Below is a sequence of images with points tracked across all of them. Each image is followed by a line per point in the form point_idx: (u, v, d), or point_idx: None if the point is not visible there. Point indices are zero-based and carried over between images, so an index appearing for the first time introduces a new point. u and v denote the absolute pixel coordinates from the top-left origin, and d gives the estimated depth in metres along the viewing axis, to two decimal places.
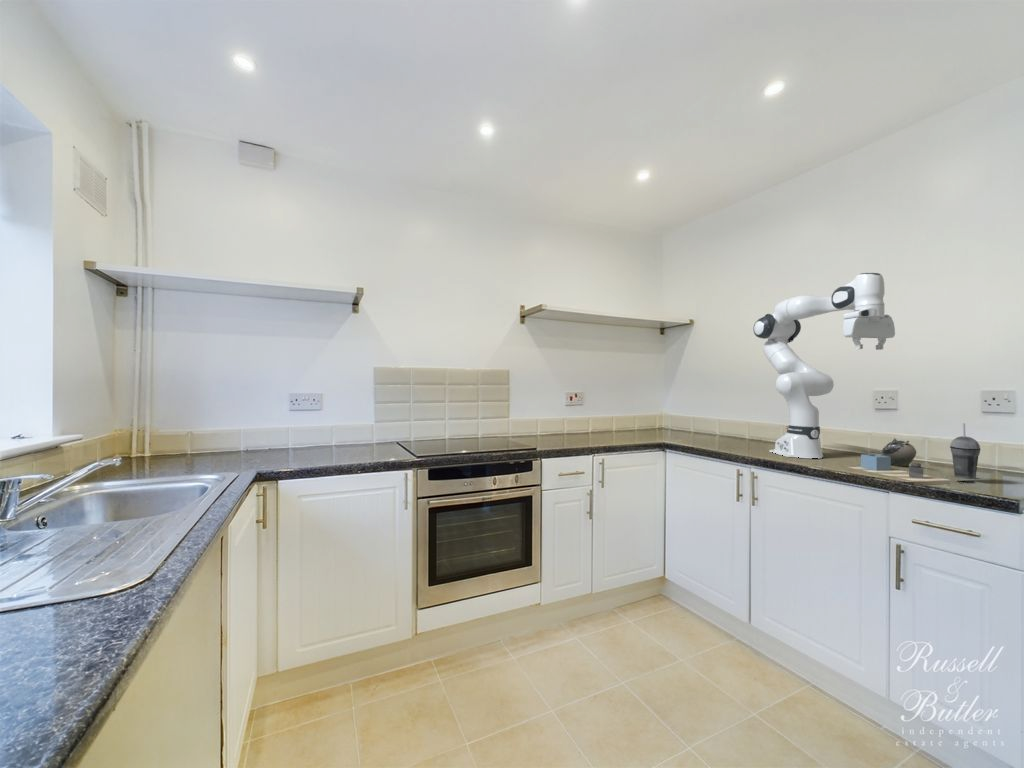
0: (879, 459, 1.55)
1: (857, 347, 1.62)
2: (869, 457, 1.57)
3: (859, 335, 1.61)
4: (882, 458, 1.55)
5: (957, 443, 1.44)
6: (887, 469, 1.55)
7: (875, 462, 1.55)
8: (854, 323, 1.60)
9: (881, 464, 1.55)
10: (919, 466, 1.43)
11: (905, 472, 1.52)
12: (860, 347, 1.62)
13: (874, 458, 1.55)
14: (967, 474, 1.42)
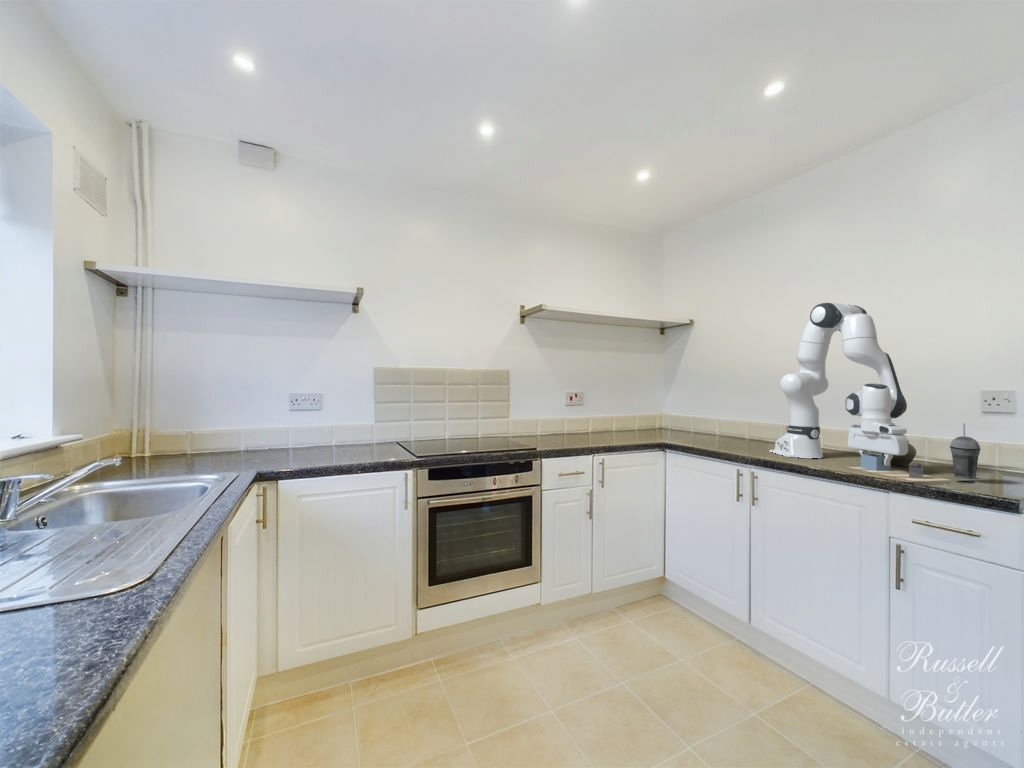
0: (879, 459, 1.55)
1: (887, 463, 1.53)
2: (869, 457, 1.57)
3: None
4: (882, 458, 1.55)
5: (957, 443, 1.44)
6: (887, 469, 1.55)
7: (875, 462, 1.55)
8: None
9: (881, 464, 1.55)
10: (919, 466, 1.43)
11: (905, 472, 1.52)
12: None
13: (874, 458, 1.55)
14: (967, 474, 1.42)
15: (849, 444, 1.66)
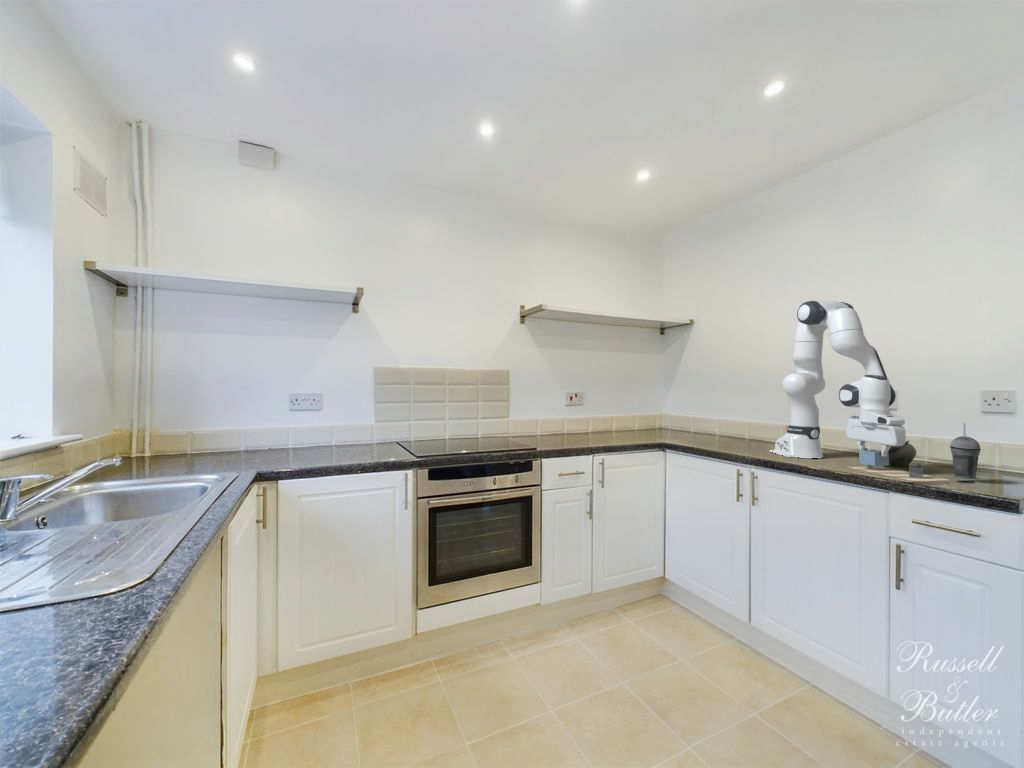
0: (877, 454, 1.55)
1: (884, 454, 1.54)
2: (867, 452, 1.57)
3: None
4: None
5: (957, 443, 1.44)
6: (886, 464, 1.55)
7: (873, 457, 1.55)
8: None
9: (880, 459, 1.55)
10: (919, 466, 1.43)
11: (905, 472, 1.52)
12: None
13: (872, 453, 1.56)
14: (967, 474, 1.42)
15: (847, 435, 1.67)
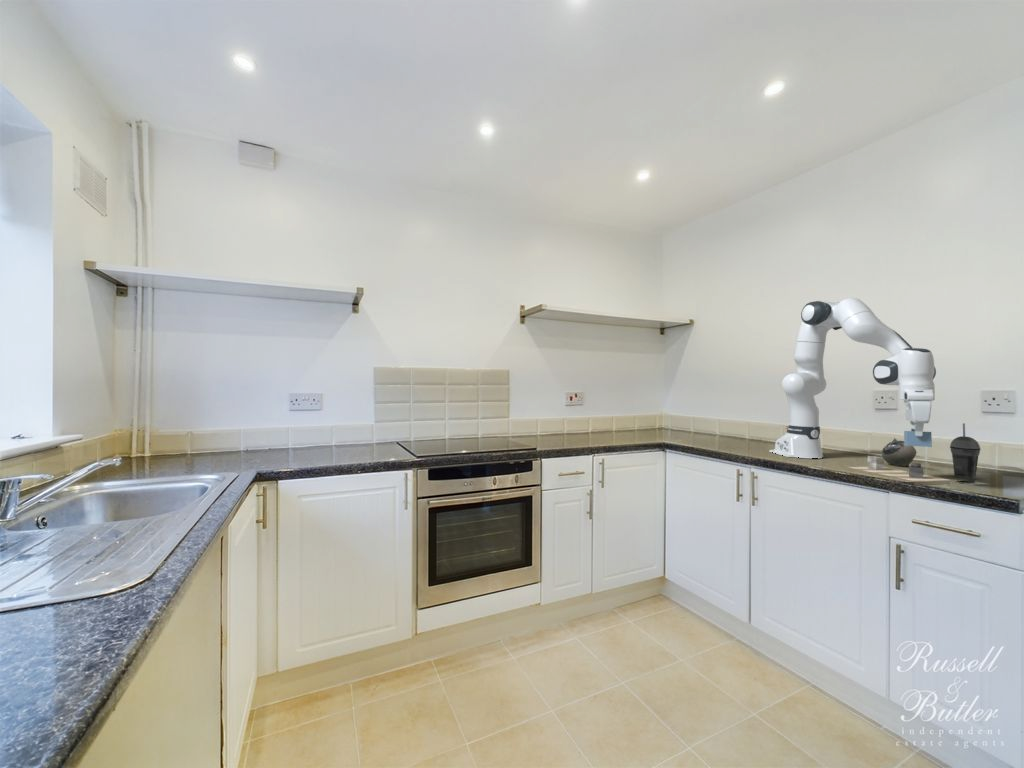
0: (911, 433, 1.42)
1: (918, 434, 1.40)
2: (905, 432, 1.45)
3: None
4: None
5: (957, 443, 1.44)
6: (926, 445, 1.40)
7: (906, 436, 1.43)
8: (930, 408, 1.35)
9: (916, 439, 1.42)
10: (919, 466, 1.43)
11: (905, 472, 1.52)
12: (922, 434, 1.40)
13: (906, 432, 1.44)
14: (967, 474, 1.42)
15: None
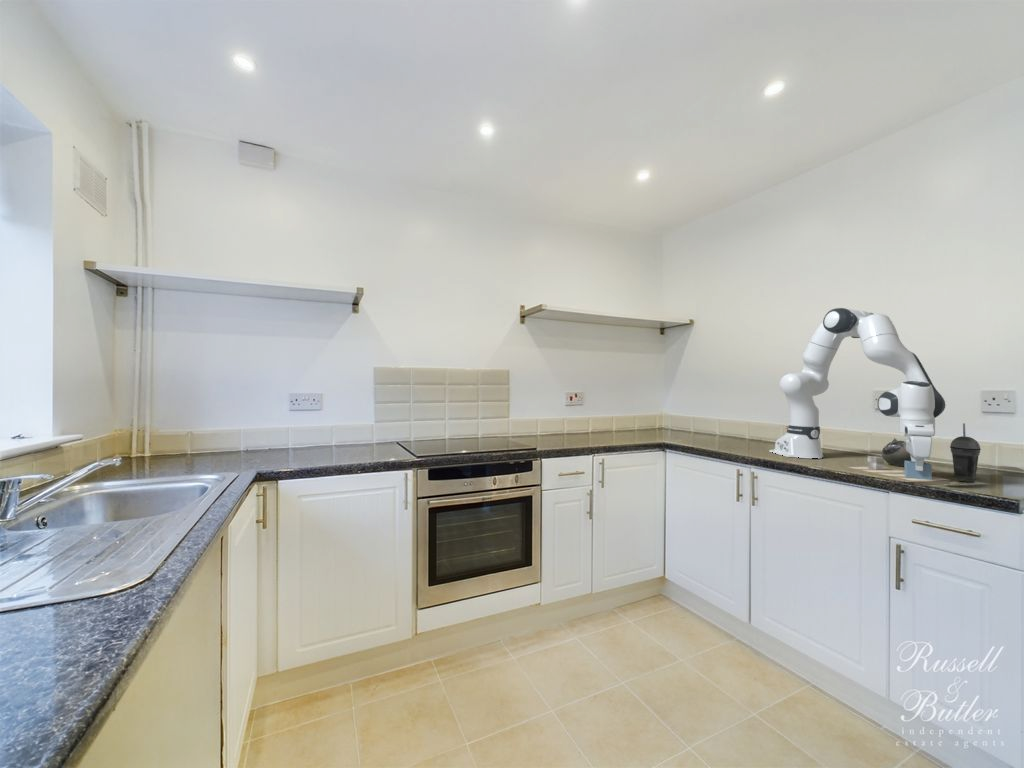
0: (911, 465, 1.42)
1: (919, 468, 1.40)
2: (905, 463, 1.45)
3: None
4: None
5: (957, 443, 1.44)
6: (925, 478, 1.40)
7: (906, 468, 1.43)
8: (931, 444, 1.35)
9: (916, 472, 1.42)
10: None
11: None
12: (922, 469, 1.40)
13: (906, 464, 1.44)
14: (967, 474, 1.42)
15: (906, 448, 1.52)
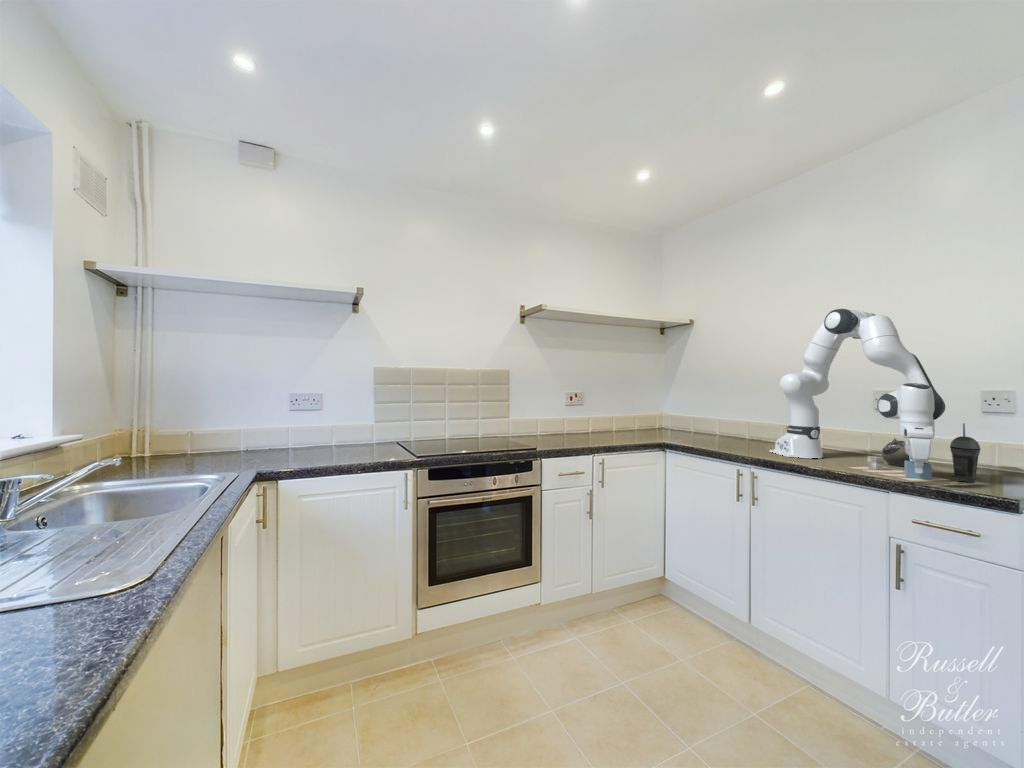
0: (911, 465, 1.42)
1: (918, 471, 1.40)
2: (905, 463, 1.45)
3: None
4: None
5: (957, 443, 1.44)
6: (925, 478, 1.40)
7: (906, 468, 1.43)
8: (930, 446, 1.35)
9: None
10: None
11: None
12: (922, 472, 1.39)
13: (906, 464, 1.44)
14: (967, 474, 1.42)
15: (905, 449, 1.52)
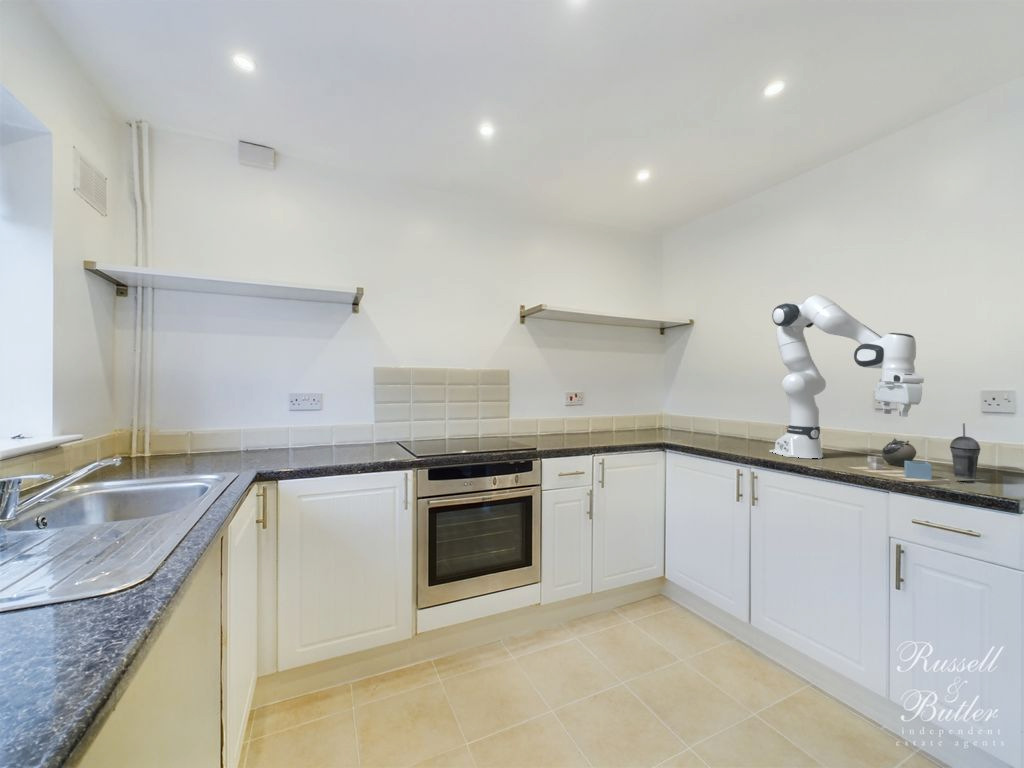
0: (911, 465, 1.42)
1: (904, 414, 1.48)
2: (905, 463, 1.45)
3: None
4: (917, 465, 1.42)
5: (957, 443, 1.44)
6: (925, 478, 1.40)
7: (906, 468, 1.43)
8: (921, 390, 1.43)
9: (916, 472, 1.42)
10: None
11: None
12: None
13: (906, 464, 1.44)
14: (967, 474, 1.42)
15: (875, 397, 1.62)
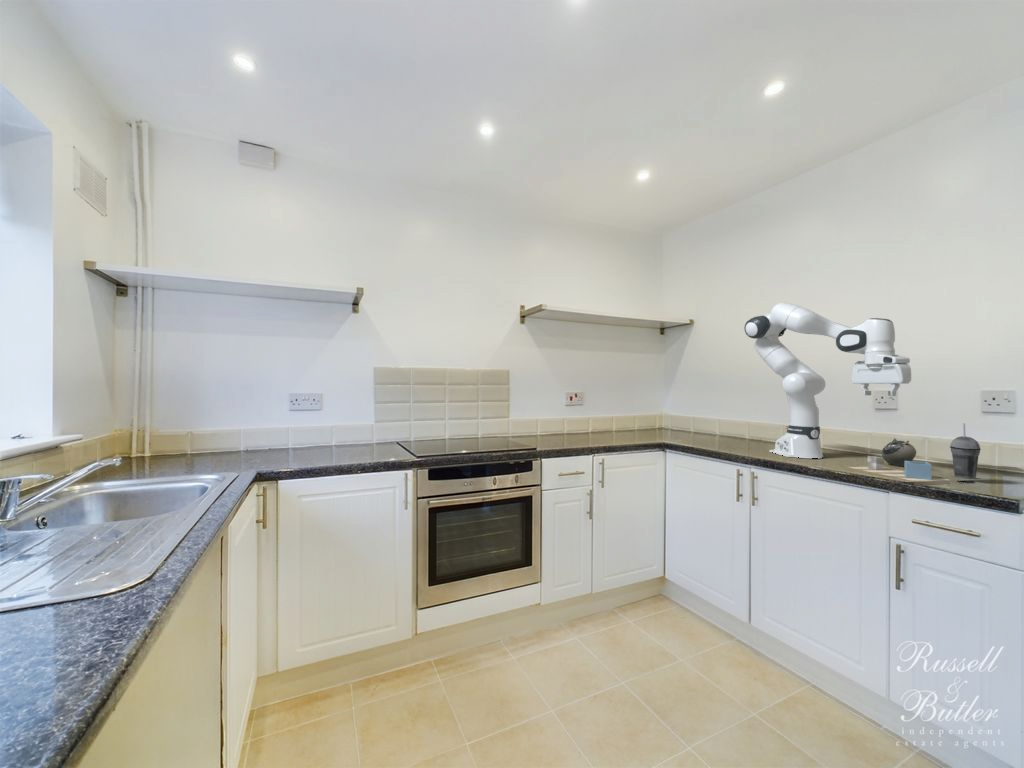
0: (911, 465, 1.42)
1: (894, 394, 1.56)
2: (905, 463, 1.45)
3: None
4: (917, 465, 1.42)
5: (957, 443, 1.44)
6: (925, 478, 1.40)
7: (906, 468, 1.43)
8: None
9: (916, 472, 1.42)
10: None
11: None
12: None
13: (906, 464, 1.44)
14: (967, 474, 1.42)
15: (853, 380, 1.70)
